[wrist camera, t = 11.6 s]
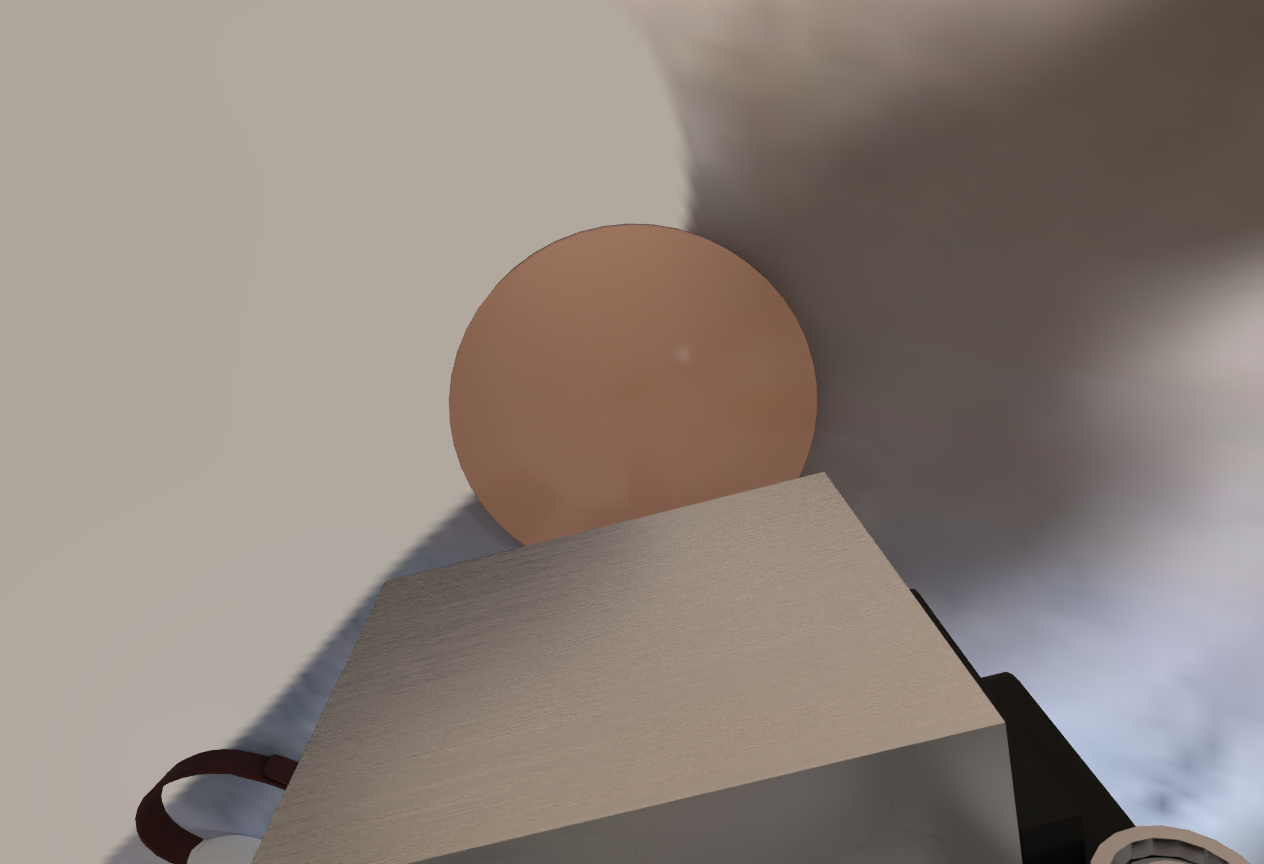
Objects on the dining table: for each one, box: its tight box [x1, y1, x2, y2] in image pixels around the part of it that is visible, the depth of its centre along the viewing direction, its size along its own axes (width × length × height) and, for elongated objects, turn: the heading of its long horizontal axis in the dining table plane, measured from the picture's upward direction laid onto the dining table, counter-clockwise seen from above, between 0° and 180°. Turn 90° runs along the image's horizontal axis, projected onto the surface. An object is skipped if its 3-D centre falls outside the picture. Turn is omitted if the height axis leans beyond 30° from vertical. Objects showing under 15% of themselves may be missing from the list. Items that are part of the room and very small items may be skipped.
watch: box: [135, 749, 298, 864], centre depth 28 cm, size 8×5×4 cm, turn 66°
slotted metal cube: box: [251, 472, 1022, 864], centre depth 9 cm, size 6×6×5 cm
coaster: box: [449, 224, 817, 546], centre depth 25 cm, size 11×11×1 cm
